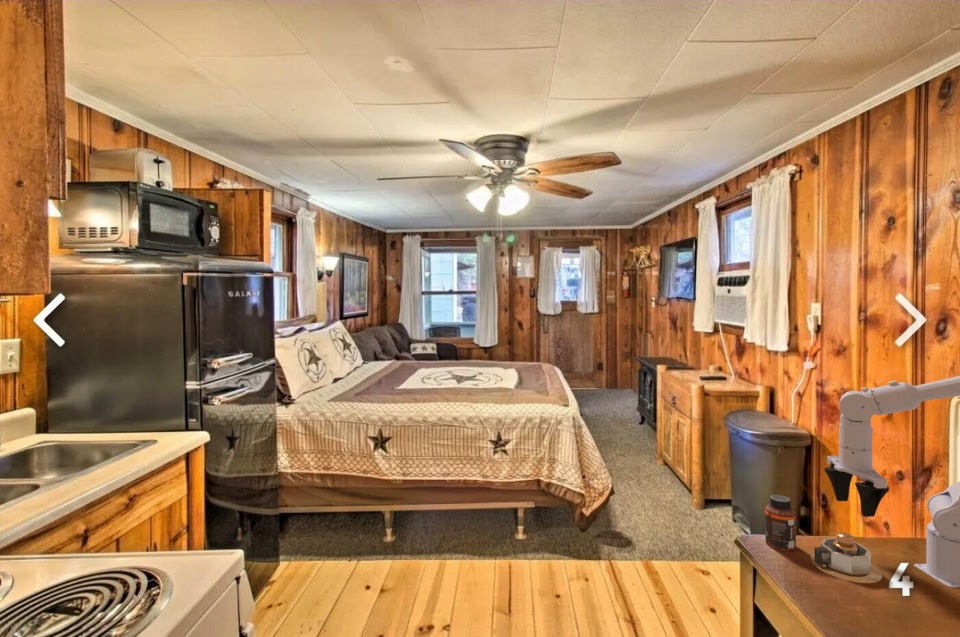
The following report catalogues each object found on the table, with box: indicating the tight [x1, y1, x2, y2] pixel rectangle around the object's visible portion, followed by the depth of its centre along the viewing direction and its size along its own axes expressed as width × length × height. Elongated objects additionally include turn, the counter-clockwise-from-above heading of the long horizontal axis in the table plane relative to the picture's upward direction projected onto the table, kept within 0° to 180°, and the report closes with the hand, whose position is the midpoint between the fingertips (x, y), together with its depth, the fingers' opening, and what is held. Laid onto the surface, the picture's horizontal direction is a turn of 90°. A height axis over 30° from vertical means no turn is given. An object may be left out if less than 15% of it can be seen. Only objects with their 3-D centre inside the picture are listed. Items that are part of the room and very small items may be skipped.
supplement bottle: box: [764, 494, 797, 553], centre depth 110 cm, size 6×6×11 cm
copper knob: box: [833, 531, 857, 556], centre depth 101 cm, size 6×6×6 cm
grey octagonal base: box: [809, 537, 883, 584], centre depth 101 cm, size 12×12×4 cm
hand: (854, 507), depth 105 cm, fingers open, 7 cm apart
